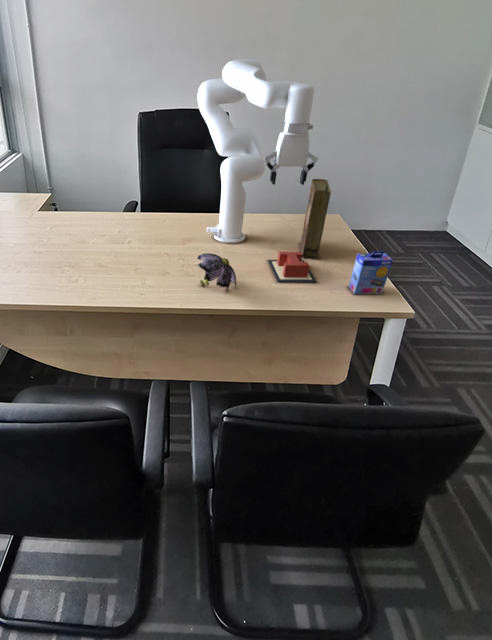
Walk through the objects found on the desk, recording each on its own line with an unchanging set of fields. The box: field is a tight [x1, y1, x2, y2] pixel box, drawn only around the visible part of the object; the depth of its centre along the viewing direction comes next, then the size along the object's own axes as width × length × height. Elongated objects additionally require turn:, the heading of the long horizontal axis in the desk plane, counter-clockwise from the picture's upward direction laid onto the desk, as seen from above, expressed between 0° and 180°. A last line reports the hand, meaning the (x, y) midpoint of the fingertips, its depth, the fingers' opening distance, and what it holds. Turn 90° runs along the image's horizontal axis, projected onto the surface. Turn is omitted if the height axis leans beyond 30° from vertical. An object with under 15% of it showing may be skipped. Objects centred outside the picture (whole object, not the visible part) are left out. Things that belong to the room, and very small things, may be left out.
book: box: [300, 178, 332, 259], centre depth 182 cm, size 16×6×25 cm, turn 168°
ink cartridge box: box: [348, 250, 394, 295], centre depth 157 cm, size 10×6×14 cm, turn 95°
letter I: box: [276, 251, 310, 278], centre depth 171 cm, size 8×12×4 cm, turn 0°
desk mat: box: [267, 259, 317, 284], centre depth 173 cm, size 13×18×1 cm
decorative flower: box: [197, 252, 237, 292], centre depth 160 cm, size 14×12×15 cm
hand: (287, 183), depth 164 cm, fingers open, 9 cm apart
